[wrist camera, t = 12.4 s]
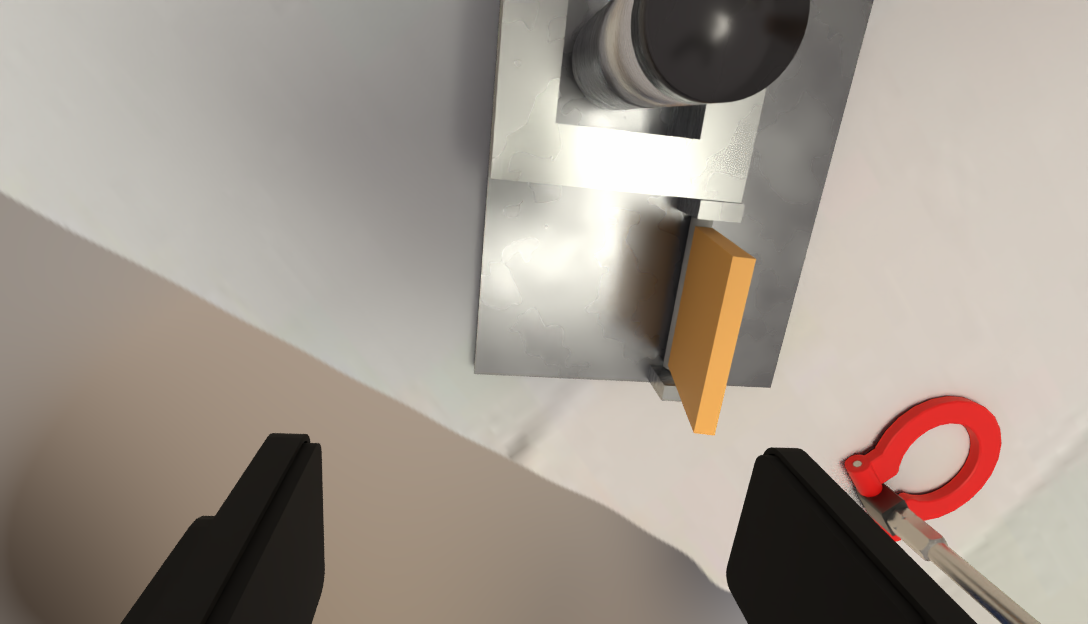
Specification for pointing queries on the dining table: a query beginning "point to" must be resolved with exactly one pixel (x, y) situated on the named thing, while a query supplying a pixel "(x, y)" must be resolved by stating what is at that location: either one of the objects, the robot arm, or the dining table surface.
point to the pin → (685, 50)
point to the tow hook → (935, 493)
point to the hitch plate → (644, 201)
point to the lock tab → (707, 321)
